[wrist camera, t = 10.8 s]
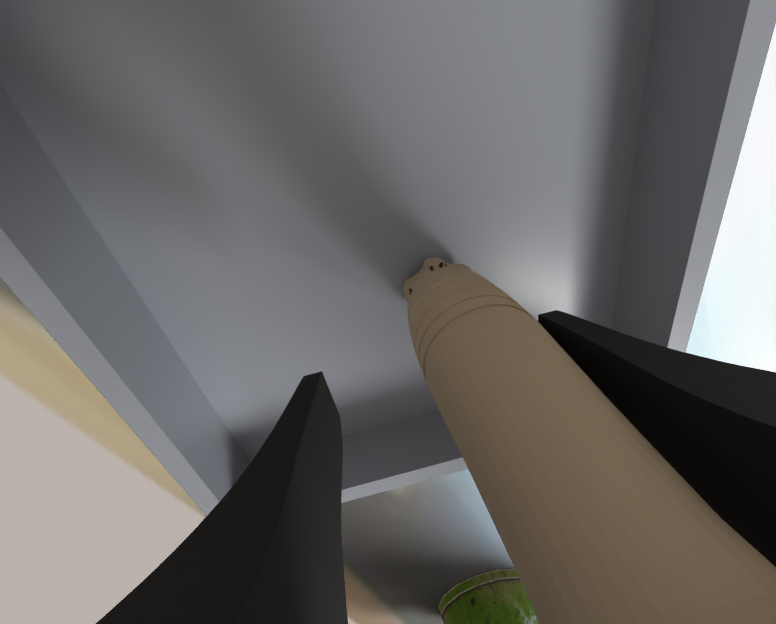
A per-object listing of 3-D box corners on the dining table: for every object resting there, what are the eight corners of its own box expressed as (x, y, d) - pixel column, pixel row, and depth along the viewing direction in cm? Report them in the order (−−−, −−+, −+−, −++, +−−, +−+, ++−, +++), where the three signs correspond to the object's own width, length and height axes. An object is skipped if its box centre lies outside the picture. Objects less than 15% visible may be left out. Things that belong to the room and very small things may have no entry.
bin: (613, 367, 21) (668, 414, 18) (241, 467, 21) (222, 535, 17) (709, -284, 10) (925, -523, 6) (-136, -85, 9) (-427, -218, 6)
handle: (354, 259, 15) (567, 1393, 1) (496, 217, 15) (1902, 940, 2) (382, 347, 17) (560, 1084, 4) (504, 311, 17) (1089, 912, 4)
